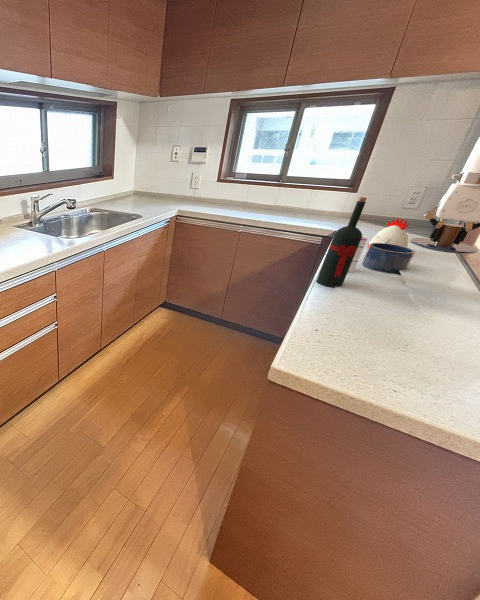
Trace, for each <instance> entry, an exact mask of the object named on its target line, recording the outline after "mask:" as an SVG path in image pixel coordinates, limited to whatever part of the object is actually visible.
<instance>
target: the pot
mask: <svg viewBox="0 0 480 600" xmlns="http://www.w3.org/2000/svg"><path fill="white" fill-rule="evenodd" d="M368 245H369V244H368ZM415 254H416V251H415V249H412V248H409V247H407V248H406V247H403V246H398V245H393V244H386V243H372V244H370V245H369V248H367V250H366V252H365V255H364V257H363V260H362V262H361V266H362V267H364V268H367V269H369V270H371V271H372V270H373V271H376V272H381V273H385V274H392V275H401V273H402V272H400V271H405V270H407V269H408V268H409V266H410V264H411V262H412V260H413V259H414V256H415Z"/></svg>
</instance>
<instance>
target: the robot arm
mask: <svg viewBox="0 0 480 600" xmlns="http://www.w3.org/2000/svg"><path fill="white" fill-rule="evenodd" d="M450 179H451V180H454V181H455V183H454V182H453V183H452V184H451V185H450V186H449V188H447V190H446V191H445V193H444V195H443V196H442V197H441V199H440V201H439V202H438V204H437V206H435V207H434V208H432V209H430V210H429V211H428V212H426V213H424V214H423V217H424V218H425V219H426V220H427V221H428V222H429V223H430V224H431V225H432V226H433V228H432V230H431V232H430V234H429V236H428V238H431V239H430V240H431V241H432V242H435V241H436V240H437V238H438V236H439V234H440V232H441V230H442V229H441V226H442V225H443V224H444V223H446V222H447V221H455V222H463V225H462V226H463V229H462V230H461V232H460V234H459V236H458V238H457V240H456V241H455V244H456V245H459V243H463V242H464V240H465V239H466V237H467V235H468V233H471V232H472V231H474V230H475V229H478V228H480V136H479V137H478V139H477V140H476V143H475V144H474V147H473V148H472V150H471V152H470V154H469V156H468V158H467V160H466V162H465V164H464V166H463V168H462V170H461V171H460V172H459V173H453V174H452V175H451V178H450ZM435 217H437V219H436V218H435Z"/></svg>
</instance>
